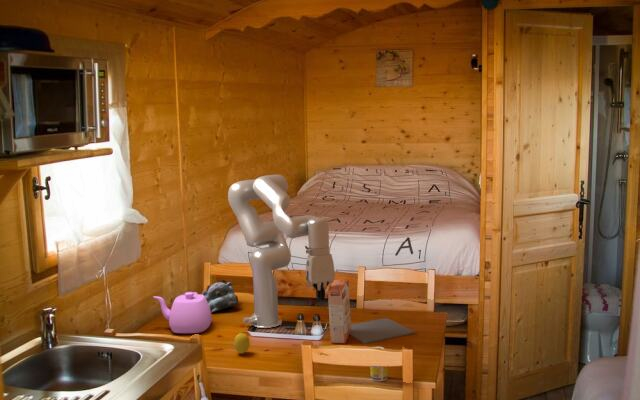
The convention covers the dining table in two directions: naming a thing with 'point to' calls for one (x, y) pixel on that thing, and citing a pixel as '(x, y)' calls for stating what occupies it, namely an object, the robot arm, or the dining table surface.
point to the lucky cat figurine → (220, 296)
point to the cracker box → (339, 311)
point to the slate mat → (378, 330)
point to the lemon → (241, 343)
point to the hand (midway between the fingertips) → (320, 299)
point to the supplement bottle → (378, 372)
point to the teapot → (187, 313)
